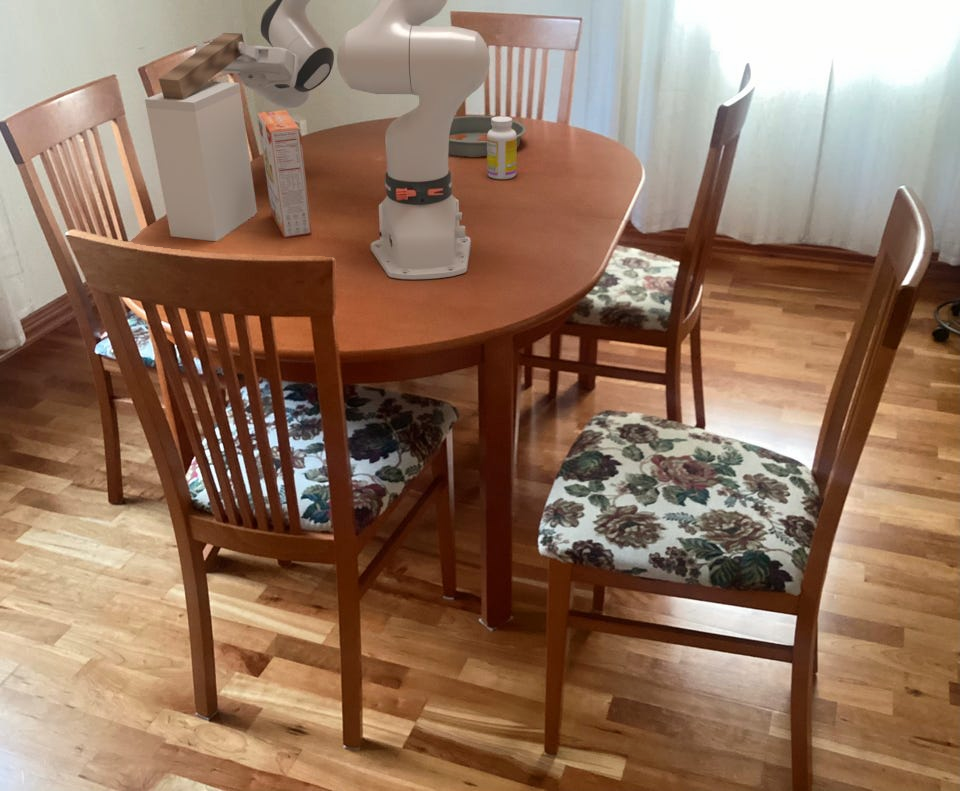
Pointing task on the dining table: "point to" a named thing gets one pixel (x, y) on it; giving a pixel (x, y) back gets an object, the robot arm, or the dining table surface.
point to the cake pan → (475, 135)
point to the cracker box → (285, 172)
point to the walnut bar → (200, 67)
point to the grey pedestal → (203, 160)
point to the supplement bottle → (501, 149)
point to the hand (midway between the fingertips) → (225, 45)
